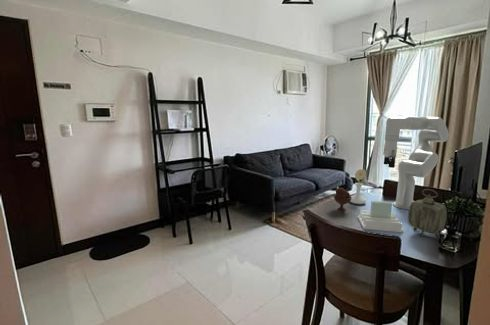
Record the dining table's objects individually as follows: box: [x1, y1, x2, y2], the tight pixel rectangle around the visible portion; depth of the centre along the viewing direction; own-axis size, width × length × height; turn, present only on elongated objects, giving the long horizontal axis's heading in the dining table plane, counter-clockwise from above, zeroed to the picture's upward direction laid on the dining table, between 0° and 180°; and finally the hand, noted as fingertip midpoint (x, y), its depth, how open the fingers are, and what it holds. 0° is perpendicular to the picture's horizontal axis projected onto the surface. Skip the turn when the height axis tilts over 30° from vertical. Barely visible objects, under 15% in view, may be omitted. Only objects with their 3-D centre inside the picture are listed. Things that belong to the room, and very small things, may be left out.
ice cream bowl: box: [333, 187, 352, 213], centre depth 170 cm, size 11×11×15 cm
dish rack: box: [357, 209, 404, 233], centre depth 149 cm, size 20×15×5 cm
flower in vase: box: [350, 168, 367, 205], centre depth 182 cm, size 13×11×25 cm
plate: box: [369, 200, 393, 219], centre depth 148 cm, size 10×2×12 cm, turn 77°
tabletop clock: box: [407, 188, 448, 239], centre depth 134 cm, size 14×9×25 cm, turn 33°
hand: (388, 165), depth 162 cm, fingers open, 9 cm apart
